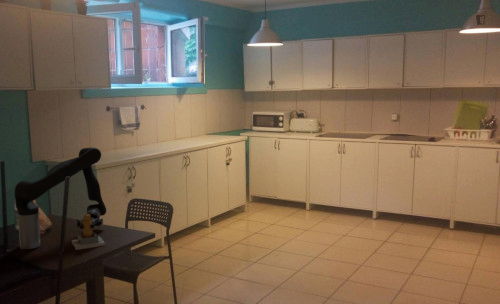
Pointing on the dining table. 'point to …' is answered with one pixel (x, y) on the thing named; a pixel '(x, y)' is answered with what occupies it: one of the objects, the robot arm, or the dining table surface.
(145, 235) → the dining table surface
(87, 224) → the stepped amber cylinder
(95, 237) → the hollow square frame plate
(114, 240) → the dining table surface
